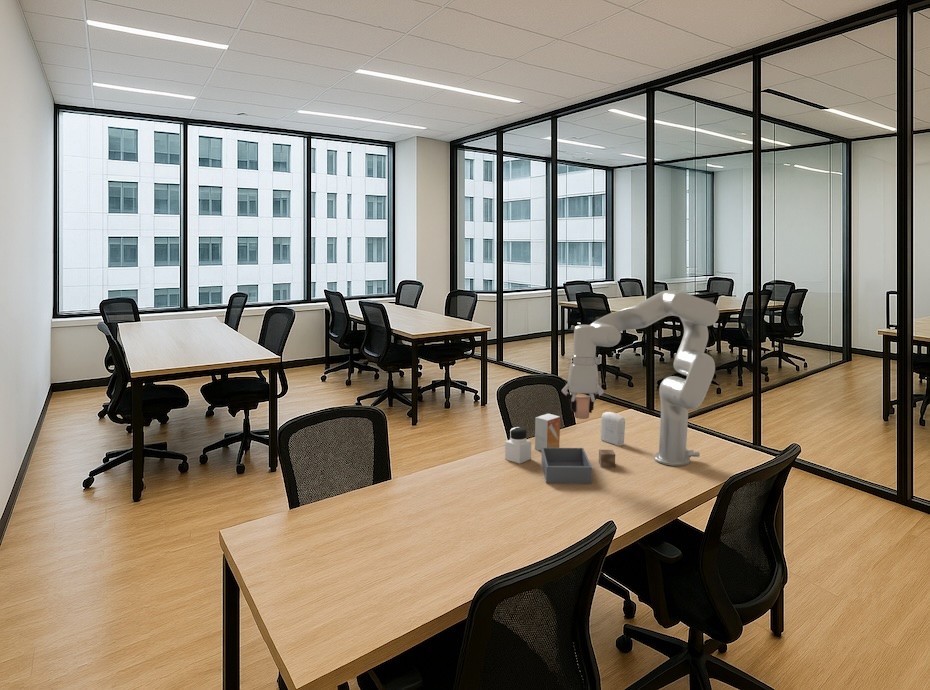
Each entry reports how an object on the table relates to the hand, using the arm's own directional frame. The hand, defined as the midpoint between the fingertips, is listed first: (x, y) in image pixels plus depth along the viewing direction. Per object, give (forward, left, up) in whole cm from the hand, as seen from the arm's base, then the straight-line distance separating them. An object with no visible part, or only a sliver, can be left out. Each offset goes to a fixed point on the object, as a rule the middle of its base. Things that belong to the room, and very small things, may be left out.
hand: (581, 411), depth 212 cm
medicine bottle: (+21, -11, -22) cm, 33 cm away
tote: (+5, +2, -22) cm, 23 cm away
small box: (+9, -23, -22) cm, 33 cm away
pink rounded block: (0, 0, -2) cm, 2 cm away
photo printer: (-18, -31, -22) cm, 42 cm away
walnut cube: (-11, -6, -22) cm, 25 cm away
